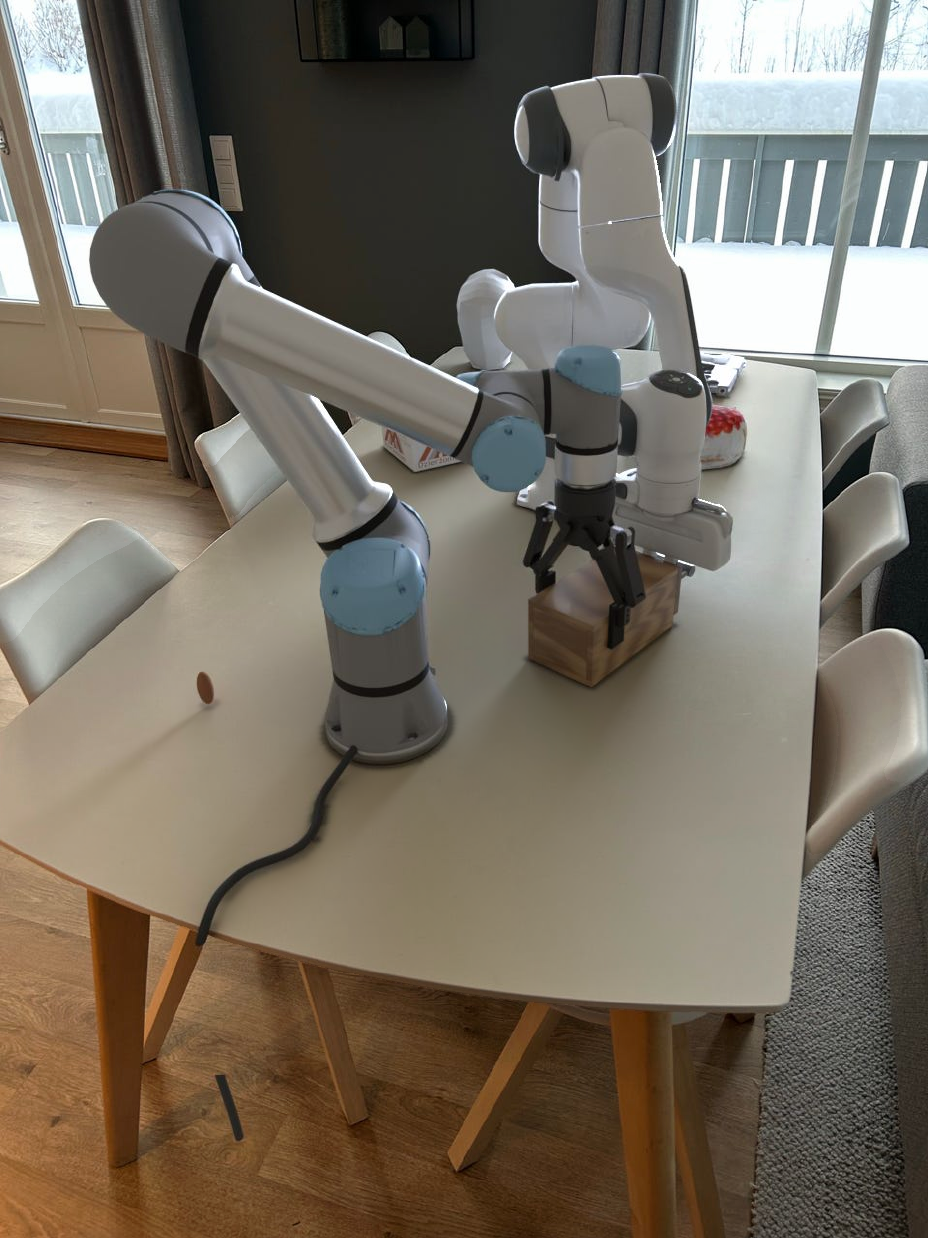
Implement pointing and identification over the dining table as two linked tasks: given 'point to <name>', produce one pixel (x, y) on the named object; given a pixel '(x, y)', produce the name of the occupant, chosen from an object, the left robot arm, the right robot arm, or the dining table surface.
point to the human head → (482, 319)
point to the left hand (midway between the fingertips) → (580, 629)
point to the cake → (723, 438)
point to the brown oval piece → (205, 687)
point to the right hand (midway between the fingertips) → (659, 576)
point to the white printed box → (414, 452)
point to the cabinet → (596, 621)
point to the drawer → (683, 571)
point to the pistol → (721, 371)
